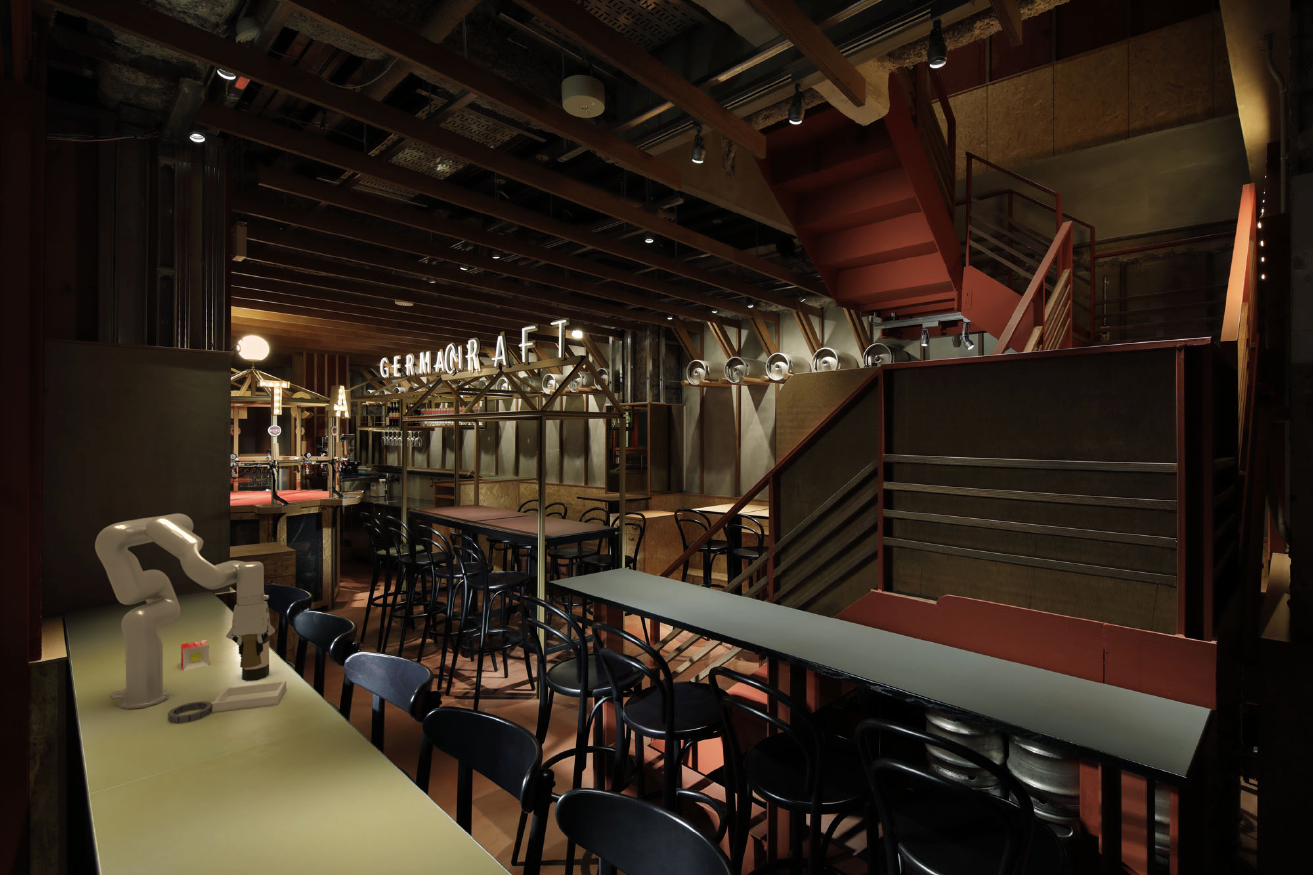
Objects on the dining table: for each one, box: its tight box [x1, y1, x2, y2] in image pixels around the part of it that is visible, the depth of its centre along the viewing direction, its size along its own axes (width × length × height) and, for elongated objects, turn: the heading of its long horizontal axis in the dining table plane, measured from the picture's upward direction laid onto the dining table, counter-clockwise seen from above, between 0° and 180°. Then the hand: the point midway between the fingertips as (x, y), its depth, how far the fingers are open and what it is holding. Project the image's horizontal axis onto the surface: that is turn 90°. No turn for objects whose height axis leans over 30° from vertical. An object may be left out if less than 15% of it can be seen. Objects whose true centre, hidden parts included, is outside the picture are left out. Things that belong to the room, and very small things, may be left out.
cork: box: [239, 634, 261, 669], centre depth 208 cm, size 6×6×11 cm
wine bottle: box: [241, 630, 270, 682], centre depth 229 cm, size 8×8×30 cm
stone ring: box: [167, 700, 213, 724], centre depth 198 cm, size 11×11×2 cm
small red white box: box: [180, 639, 210, 671], centre depth 240 cm, size 8×8×8 cm
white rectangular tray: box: [211, 680, 287, 714], centre depth 208 cm, size 18×13×3 cm
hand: (251, 654), depth 208 cm, fingers closed on cork, 3 cm apart
